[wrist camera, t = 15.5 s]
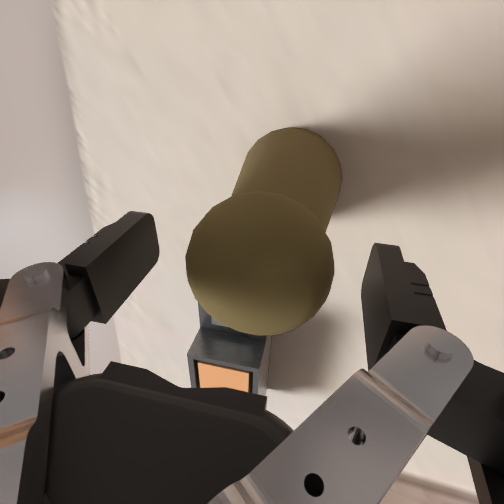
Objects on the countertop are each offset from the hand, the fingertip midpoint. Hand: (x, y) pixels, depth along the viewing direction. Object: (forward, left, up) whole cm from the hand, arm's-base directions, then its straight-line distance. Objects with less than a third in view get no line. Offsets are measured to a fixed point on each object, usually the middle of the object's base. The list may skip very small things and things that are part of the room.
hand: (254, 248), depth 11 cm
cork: (0, 0, -9) cm, 9 cm away
